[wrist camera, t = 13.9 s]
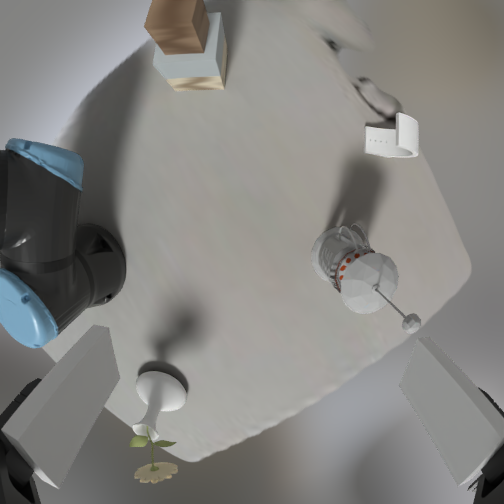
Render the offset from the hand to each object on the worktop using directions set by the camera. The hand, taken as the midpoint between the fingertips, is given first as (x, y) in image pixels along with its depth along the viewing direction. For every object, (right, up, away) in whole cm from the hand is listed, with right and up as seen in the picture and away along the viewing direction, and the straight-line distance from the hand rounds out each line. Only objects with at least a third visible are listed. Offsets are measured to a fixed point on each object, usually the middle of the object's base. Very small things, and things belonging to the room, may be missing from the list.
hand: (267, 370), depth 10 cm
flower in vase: (-19, -24, +42) cm, 52 cm away
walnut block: (-9, +31, +16) cm, 36 cm away
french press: (+14, +5, +35) cm, 38 cm away
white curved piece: (+21, +23, +30) cm, 43 cm away
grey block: (-9, +33, +21) cm, 40 cm away
